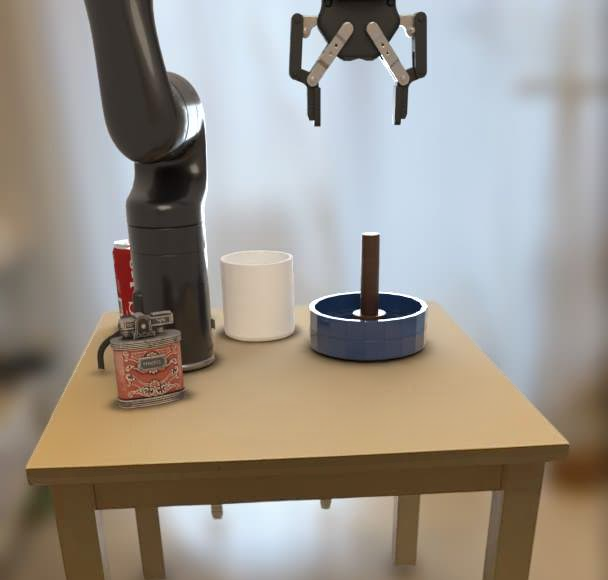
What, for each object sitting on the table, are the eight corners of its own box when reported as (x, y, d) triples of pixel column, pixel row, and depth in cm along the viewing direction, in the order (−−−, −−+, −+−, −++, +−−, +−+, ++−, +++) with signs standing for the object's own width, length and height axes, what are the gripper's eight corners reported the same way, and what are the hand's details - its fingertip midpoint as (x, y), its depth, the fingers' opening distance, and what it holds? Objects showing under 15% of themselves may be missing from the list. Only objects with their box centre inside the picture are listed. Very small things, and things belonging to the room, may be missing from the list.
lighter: (123, 410, 100) (112, 322, 95) (114, 401, 102) (103, 314, 97) (190, 398, 103) (183, 311, 98) (180, 389, 105) (172, 305, 101)
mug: (308, 333, 125) (307, 258, 120) (246, 346, 120) (242, 268, 116) (263, 315, 134) (260, 244, 130) (204, 325, 130) (198, 253, 125)
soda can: (160, 321, 132) (152, 237, 127) (152, 331, 128) (143, 244, 122) (126, 321, 133) (117, 237, 127) (117, 330, 128) (106, 244, 123)
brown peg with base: (369, 349, 116) (371, 238, 109) (345, 342, 119) (345, 233, 112) (391, 342, 119) (395, 233, 112) (368, 335, 122) (370, 229, 115)
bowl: (313, 366, 112) (313, 323, 110) (306, 332, 126) (306, 293, 123) (434, 362, 113) (436, 319, 110) (415, 329, 126) (416, 290, 124)
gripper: (425, -53, 91) (416, 122, 99) (285, -52, 90) (288, 123, 98) (438, -61, 84) (428, 127, 92) (288, -60, 84) (291, 129, 92)
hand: (356, 125), depth 95 cm, fingers open, 8 cm apart
